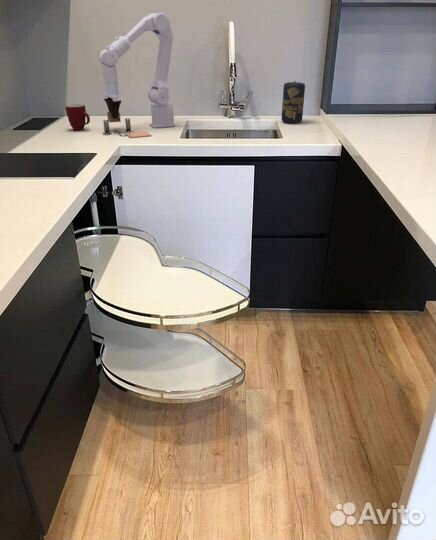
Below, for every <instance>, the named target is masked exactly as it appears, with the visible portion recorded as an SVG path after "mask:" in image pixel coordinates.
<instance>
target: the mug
mask: <svg viewBox="0 0 436 540" xmlns="http://www.w3.org/2000/svg"><path fill="white" fill-rule="evenodd" d="M64 107H65V112H66V116H67V119H68V122H69V126H70V127H71V128H72V129H73V130H74V132H75V131H76V132H77V131H79V132H80V131H84V128H85V126H86V125H88V124H90V122H91V118H90V114H88V113H87V112H86V111H87V110H86V105H85V104H83V103H71V104H66V105H65V106H64Z"/></svg>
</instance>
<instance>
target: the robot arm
mask: <svg viewBox="0 0 436 540" xmlns="http://www.w3.org/2000/svg"><path fill="white" fill-rule="evenodd" d="M150 31H151V32H153V33H154V34H155V35H156V38H158V40H159V44H158V50H157V58H156V59H157V60H156V67H155V72H154V78H153V79H154V80H153V81H152V83H151V86H150V89H149V90H148V95H147V97H148V99H149V102H150V110H151V111H150V113H151V123H149V125H150V127H151V126H152V128H153V129H157V128H158V129H159V128H168V127H169V128H170V127H175V126H176V125H175V117H174V116H175V115H174V114H175V112H174V107H173V105H172V104H168V103H169V100H170V93H169V89H170V88H169V85H168V77H169V76H168V75H169V70H170V69H169V68H170V62H171V56H172V50H173V49H172V48H173V42H174V35H173V32H172V27H171V20H170V19H169V17H168V16H167V15H166V14H165V13H163V12H150V13H148V14H147V15H146V16H144V17H142V19H141V20H140V21H139V22H138V23H137V24H136V25H135V26H133V27H132V29H130V31H129V32H128V33H127V34H126V35H125V36H123V35H119V36H116V37H115V38H114V41H113V42H111V44H109V45H107V46H106V49H103V50H101V51H100V53H99V56H98V61H99V62H100V64H101V71H102V72H101V73H102V81H103V89H104V90H103V91H104V93H101V96H102V97H105V98H103V100H104V102H105V103H106V106H107V109H108V112H111V114H112V117H113V118H118V114H119V113H120V106H121V104H122V100H119V97H120V91H119V83H118V72H117V64H118V62H119V61H118V60H119V59H120V58H121V57H123V56H124V54H126V53H127V52H128V51H129V50H130V49H131V43H133V42H134V41H135V40H138V38H139V37H140V36H142V35H143V34H144V33H145V32H150Z"/></svg>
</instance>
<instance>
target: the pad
mask: <svg viewBox="0 0 436 540" xmlns="http://www.w3.org/2000/svg"><path fill="white" fill-rule="evenodd" d="M124 135H128V136H127V137H128V138H129V139H137V138H146V137H147V138H148V137H152V134H151V133H149V132H148V131H147V130H138V131H136V130H135V131H133V132H125V133H124Z"/></svg>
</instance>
